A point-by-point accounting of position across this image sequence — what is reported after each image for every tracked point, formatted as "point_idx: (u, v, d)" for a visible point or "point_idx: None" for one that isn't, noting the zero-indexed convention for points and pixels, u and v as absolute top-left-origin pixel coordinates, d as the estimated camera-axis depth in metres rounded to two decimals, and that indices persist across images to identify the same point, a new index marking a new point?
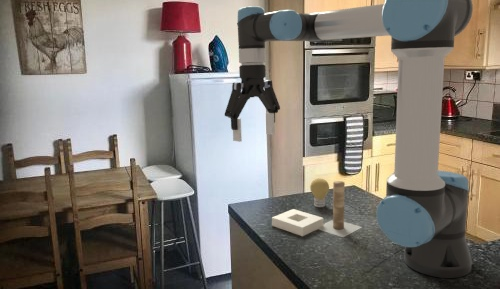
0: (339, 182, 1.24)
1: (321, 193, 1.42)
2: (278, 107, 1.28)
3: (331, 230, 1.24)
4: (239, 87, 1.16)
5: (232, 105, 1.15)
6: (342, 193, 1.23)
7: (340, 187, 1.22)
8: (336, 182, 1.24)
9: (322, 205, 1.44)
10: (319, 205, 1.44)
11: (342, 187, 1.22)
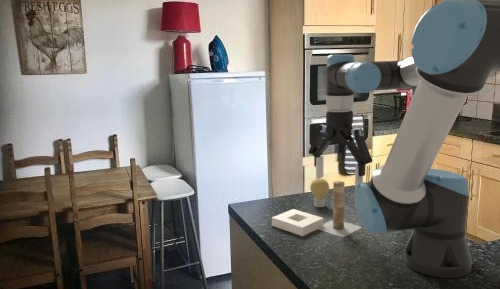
0: (339, 182, 1.24)
1: (321, 193, 1.42)
2: (365, 161, 1.15)
3: (331, 230, 1.24)
4: (318, 129, 1.24)
5: None
6: (342, 193, 1.23)
7: (340, 187, 1.22)
8: (336, 182, 1.24)
9: (322, 205, 1.44)
10: (319, 205, 1.44)
11: (342, 187, 1.22)
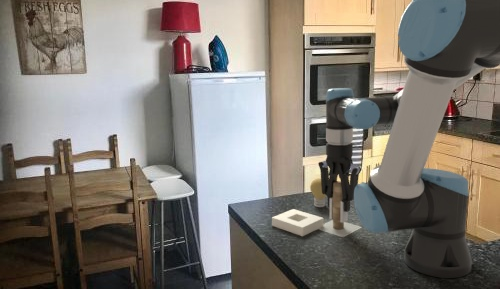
0: (339, 182, 1.24)
1: (321, 193, 1.42)
2: (349, 197, 1.20)
3: (331, 230, 1.24)
4: (320, 166, 1.26)
5: None
6: None
7: (340, 187, 1.22)
8: (336, 182, 1.24)
9: (322, 205, 1.44)
10: (319, 205, 1.44)
11: None
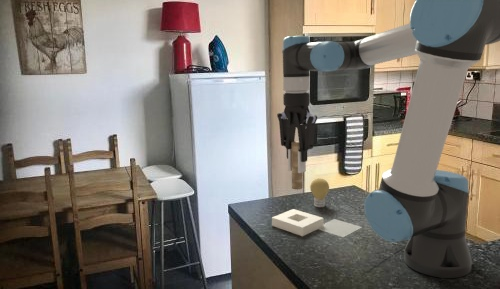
0: (297, 142, 1.24)
1: (321, 193, 1.42)
2: (306, 147, 1.20)
3: (331, 230, 1.24)
4: (279, 117, 1.25)
5: None
6: None
7: (298, 147, 1.22)
8: (294, 142, 1.24)
9: (322, 205, 1.44)
10: (319, 205, 1.44)
11: None
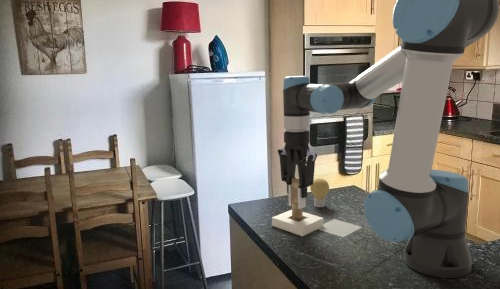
0: (297, 178, 1.26)
1: (321, 193, 1.42)
2: (306, 184, 1.22)
3: (331, 230, 1.24)
4: (279, 153, 1.28)
5: None
6: None
7: (298, 183, 1.24)
8: (294, 178, 1.26)
9: (322, 205, 1.44)
10: (319, 205, 1.44)
11: None
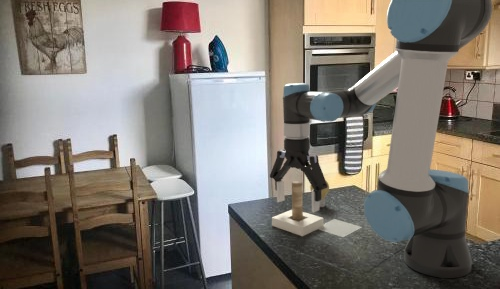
0: (297, 182, 1.26)
1: (321, 193, 1.42)
2: (320, 187, 1.18)
3: (331, 230, 1.24)
4: (278, 155, 1.28)
5: None
6: (300, 193, 1.25)
7: (298, 188, 1.25)
8: (294, 182, 1.26)
9: (322, 205, 1.44)
10: (319, 205, 1.44)
11: (300, 187, 1.25)
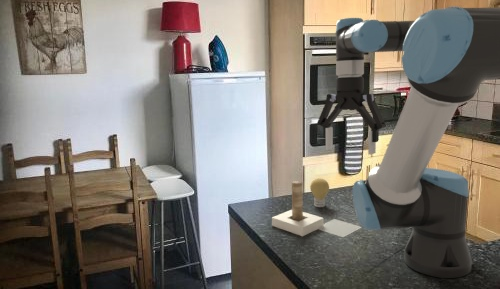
0: (297, 182, 1.26)
1: (321, 193, 1.42)
2: (379, 125, 1.12)
3: (331, 230, 1.24)
4: (327, 98, 1.22)
5: None
6: (300, 193, 1.25)
7: (298, 187, 1.25)
8: (294, 182, 1.26)
9: (322, 205, 1.44)
10: (319, 205, 1.44)
11: (300, 187, 1.25)
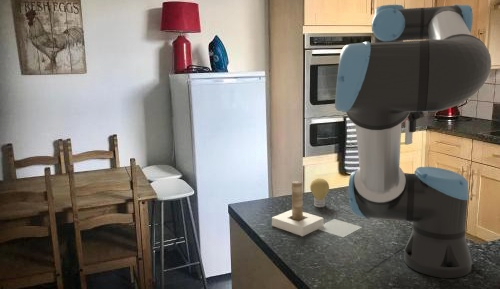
0: (297, 182, 1.26)
1: (321, 193, 1.42)
2: (416, 115, 1.10)
3: (331, 230, 1.24)
4: None
5: None
6: (300, 193, 1.25)
7: (298, 188, 1.25)
8: (294, 182, 1.26)
9: (322, 205, 1.44)
10: (319, 205, 1.44)
11: (300, 187, 1.25)
